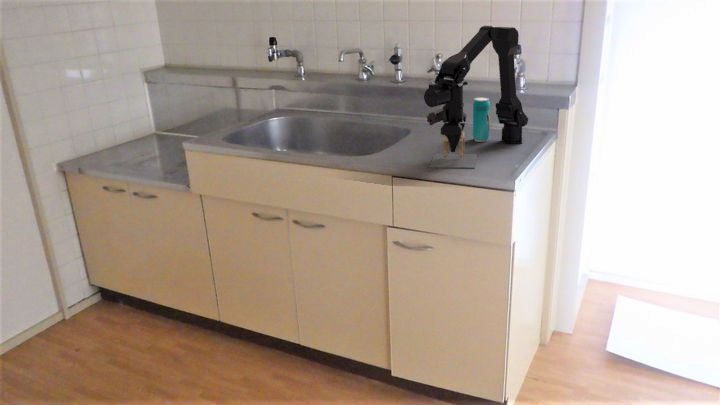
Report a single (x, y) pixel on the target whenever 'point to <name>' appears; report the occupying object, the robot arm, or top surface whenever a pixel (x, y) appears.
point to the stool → (446, 146)
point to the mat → (454, 161)
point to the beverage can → (481, 119)
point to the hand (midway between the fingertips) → (454, 149)
